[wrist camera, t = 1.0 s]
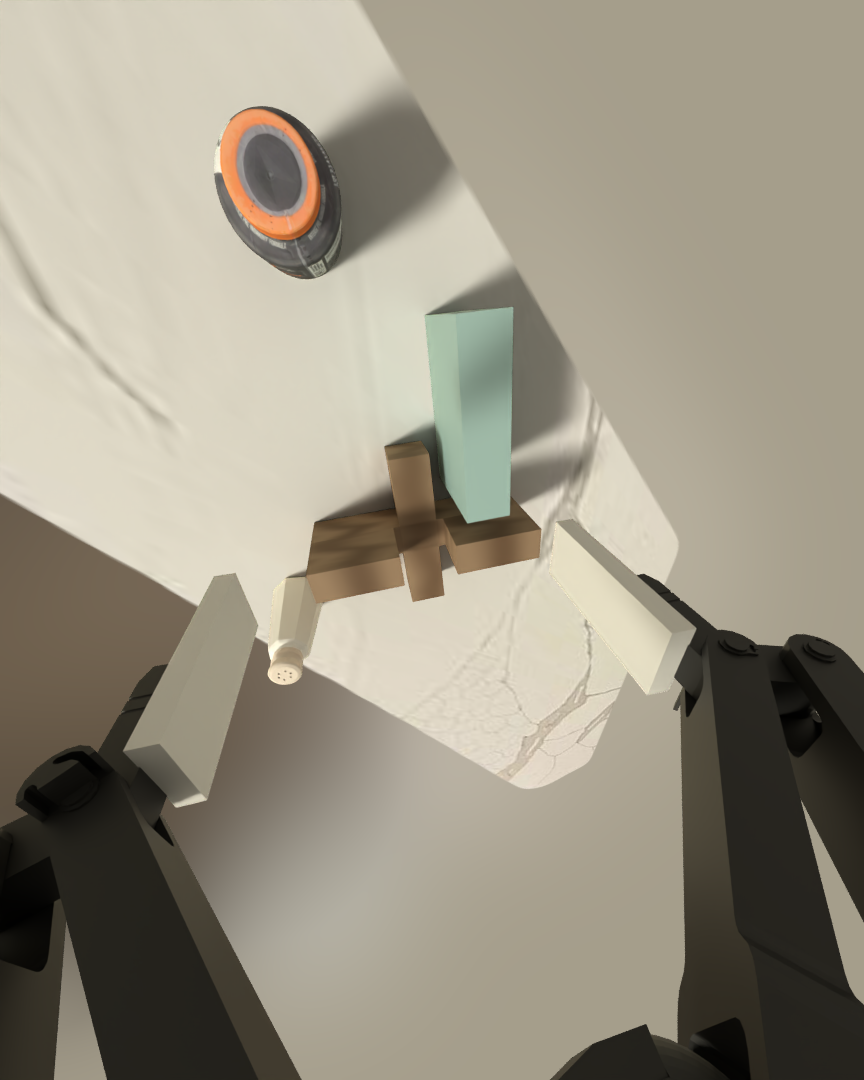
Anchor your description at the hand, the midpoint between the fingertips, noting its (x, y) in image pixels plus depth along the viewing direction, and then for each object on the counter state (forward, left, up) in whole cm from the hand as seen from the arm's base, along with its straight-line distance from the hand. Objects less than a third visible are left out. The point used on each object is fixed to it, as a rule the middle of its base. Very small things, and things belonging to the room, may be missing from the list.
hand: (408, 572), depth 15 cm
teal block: (-2, +7, -22) cm, 23 cm away
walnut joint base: (+9, +2, -22) cm, 24 cm away
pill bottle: (-15, -3, -22) cm, 26 cm away
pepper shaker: (+16, -12, -22) cm, 30 cm away
